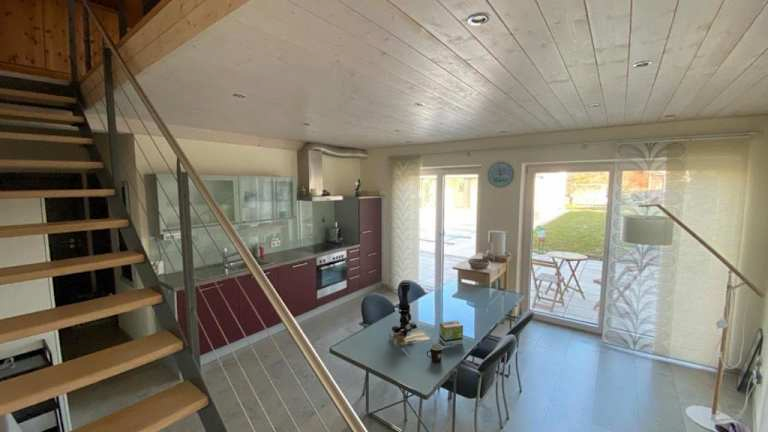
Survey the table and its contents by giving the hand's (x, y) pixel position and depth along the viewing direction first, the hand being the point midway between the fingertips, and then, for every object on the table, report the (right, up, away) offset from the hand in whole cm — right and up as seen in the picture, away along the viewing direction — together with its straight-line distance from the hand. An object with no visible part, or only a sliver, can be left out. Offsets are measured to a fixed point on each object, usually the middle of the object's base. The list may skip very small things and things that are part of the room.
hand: (404, 338), depth 249 cm
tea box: (+35, -3, -2) cm, 35 cm away
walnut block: (-5, -1, -2) cm, 5 cm away
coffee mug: (+19, -6, -27) cm, 33 cm away
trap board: (+4, -2, +2) cm, 5 cm away
